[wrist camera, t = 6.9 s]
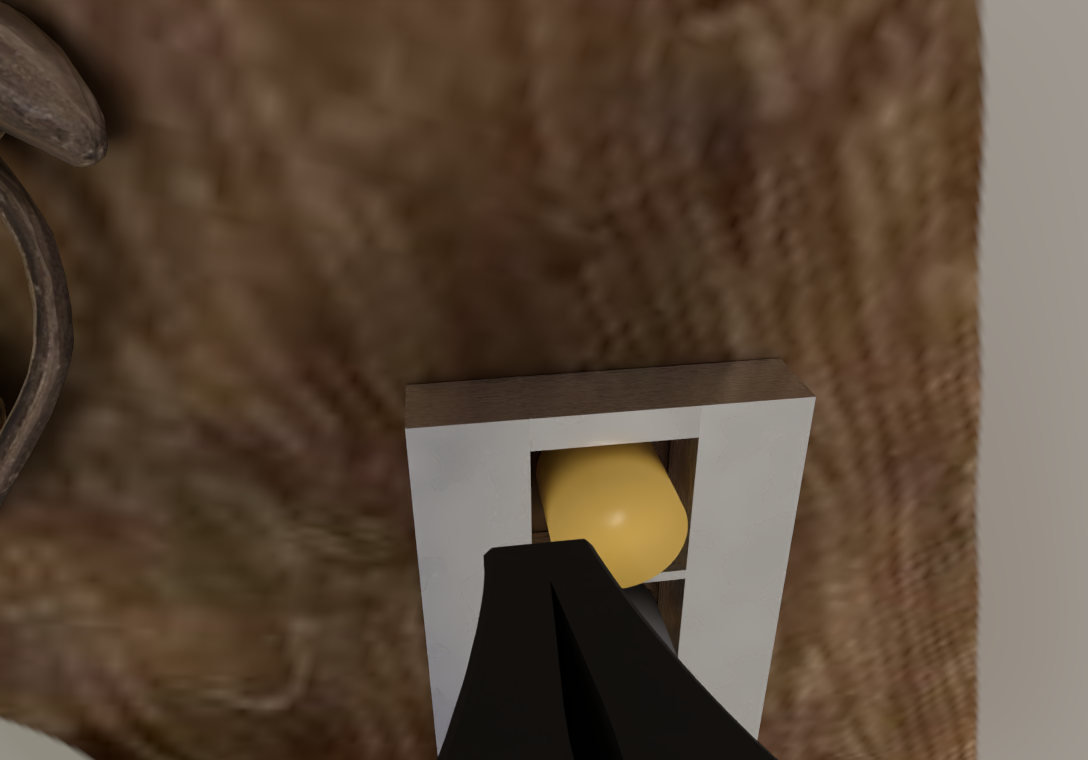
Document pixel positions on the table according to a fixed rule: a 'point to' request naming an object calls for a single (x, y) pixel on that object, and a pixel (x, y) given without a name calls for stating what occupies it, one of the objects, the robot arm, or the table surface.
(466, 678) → the robot arm
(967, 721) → the table surface
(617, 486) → the amber button
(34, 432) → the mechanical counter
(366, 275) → the table surface
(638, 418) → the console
